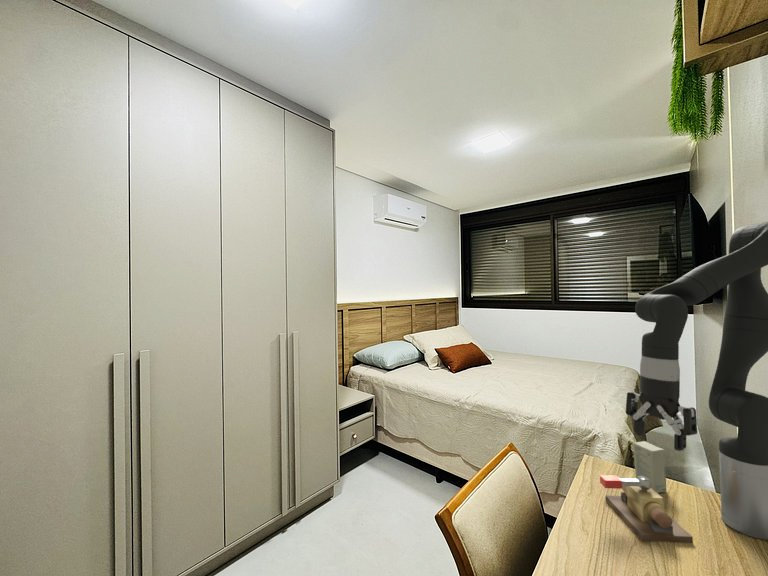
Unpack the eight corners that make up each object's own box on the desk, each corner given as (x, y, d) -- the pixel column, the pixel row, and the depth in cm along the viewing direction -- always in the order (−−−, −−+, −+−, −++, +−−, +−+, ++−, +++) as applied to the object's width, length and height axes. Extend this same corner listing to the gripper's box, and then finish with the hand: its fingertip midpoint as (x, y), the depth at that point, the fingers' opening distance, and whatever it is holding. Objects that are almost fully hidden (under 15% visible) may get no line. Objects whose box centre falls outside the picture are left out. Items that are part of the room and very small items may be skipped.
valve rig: (605, 500, 93) (604, 471, 93) (647, 502, 92) (646, 472, 92) (642, 541, 78) (640, 505, 78) (692, 543, 77) (691, 507, 77)
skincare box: (667, 492, 96) (665, 449, 96) (654, 494, 95) (652, 451, 95) (646, 480, 102) (645, 440, 102) (634, 481, 102) (632, 441, 102)
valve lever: (646, 483, 86) (645, 476, 86) (653, 489, 84) (652, 481, 84) (599, 482, 87) (599, 474, 87) (605, 488, 85) (605, 480, 85)
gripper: (704, 382, 76) (704, 453, 76) (639, 368, 90) (638, 428, 89) (683, 384, 74) (683, 458, 74) (619, 370, 87) (618, 432, 87)
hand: (658, 442), depth 81 cm, fingers open, 8 cm apart
